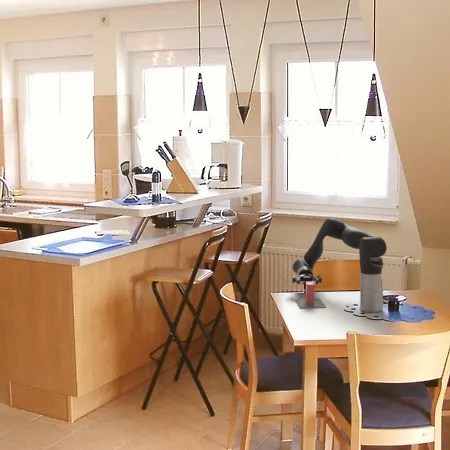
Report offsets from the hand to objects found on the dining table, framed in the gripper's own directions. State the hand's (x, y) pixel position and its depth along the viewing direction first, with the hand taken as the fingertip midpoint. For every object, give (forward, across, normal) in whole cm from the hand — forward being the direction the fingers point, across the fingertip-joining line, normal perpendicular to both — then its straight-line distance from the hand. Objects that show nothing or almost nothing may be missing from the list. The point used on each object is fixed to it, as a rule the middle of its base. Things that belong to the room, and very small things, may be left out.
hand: (308, 282), depth 367 cm
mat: (+11, 0, +8) cm, 13 cm away
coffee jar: (-8, +32, +8) cm, 34 cm away
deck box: (+11, 0, +7) cm, 13 cm away
